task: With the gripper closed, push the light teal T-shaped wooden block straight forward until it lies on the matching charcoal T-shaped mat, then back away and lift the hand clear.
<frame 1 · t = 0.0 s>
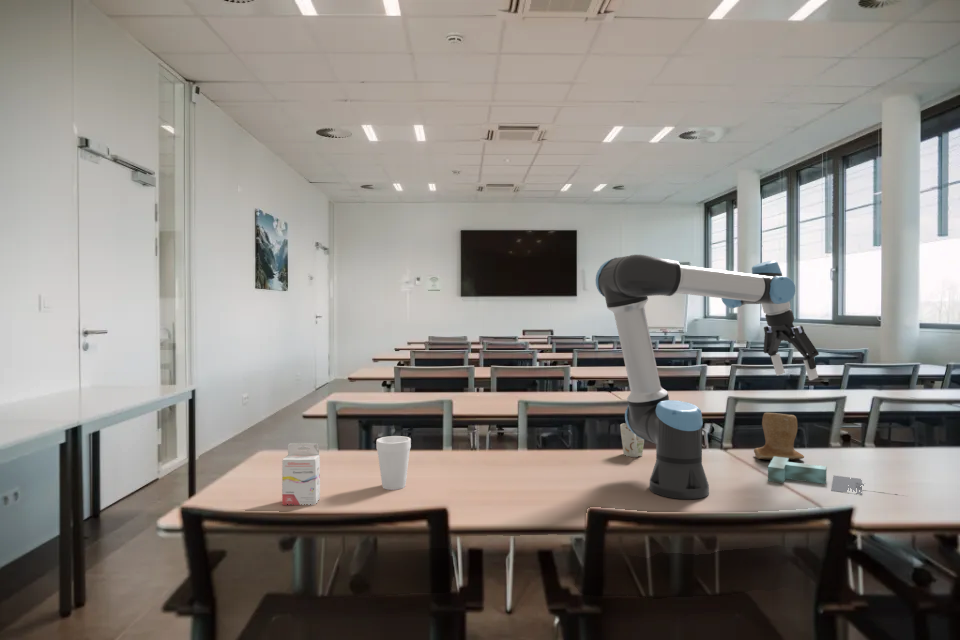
hand: (796, 376, 183), 28 cm above the table, tool tilted 20°, fingers open, 13 cm apart
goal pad: (868, 487, 162), on the table
ink cartridge box: (301, 503, 151), on the table
mug: (633, 457, 196), on the table
foam cup: (394, 487, 165), on the table
t block: (797, 478, 171), on the table
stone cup: (776, 458, 193), on the table
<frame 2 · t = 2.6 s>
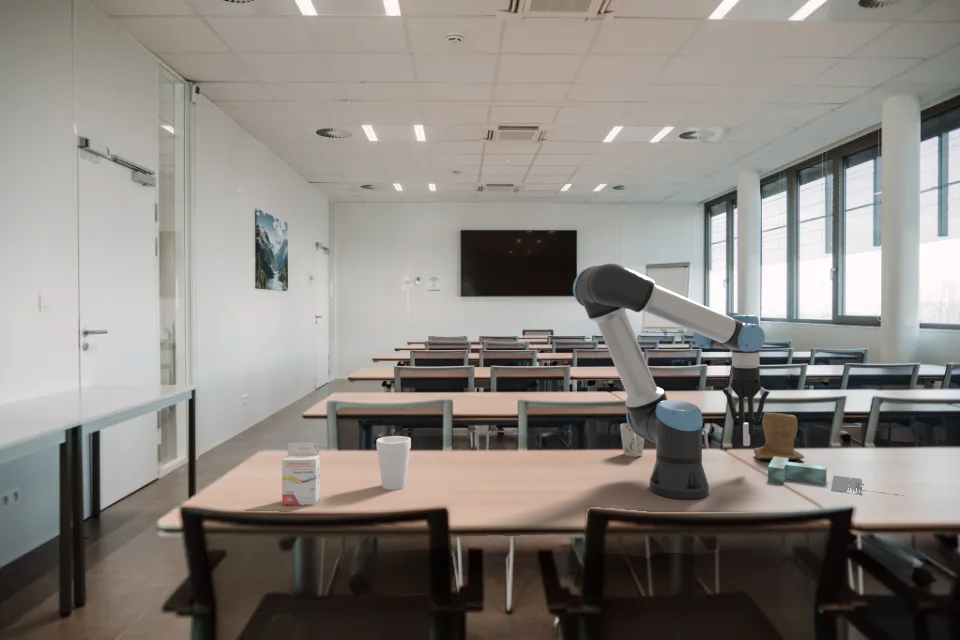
hand: (746, 444, 178), 8 cm above the table, tool pointing down, fingers closed
nothing on the table moved.
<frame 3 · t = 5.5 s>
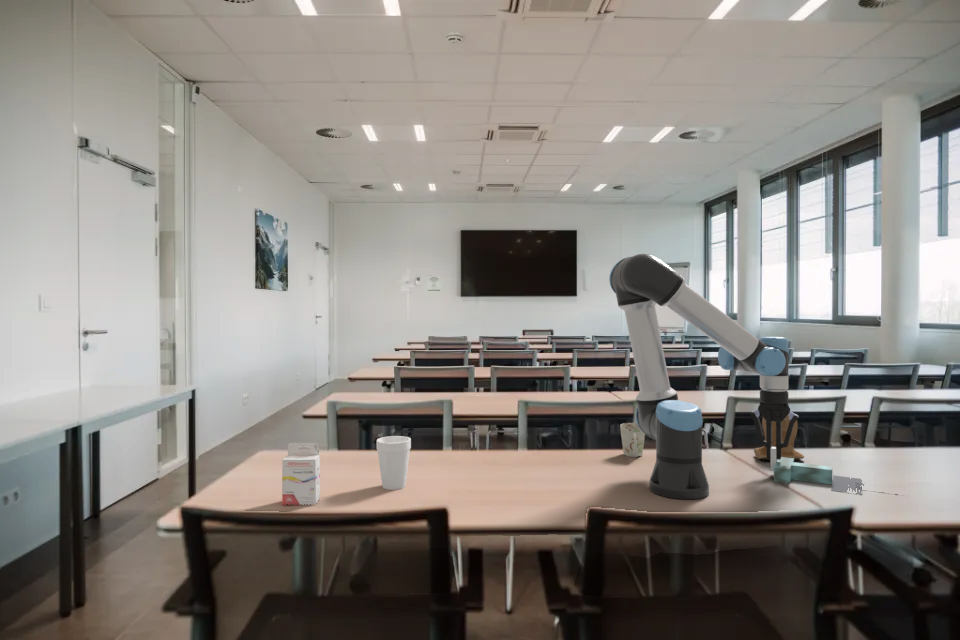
hand: (773, 469, 174), 2 cm above the table, tool pointing down, fingers closed
t block: (803, 478, 170), on the table, touching gripper
everything else where it was.
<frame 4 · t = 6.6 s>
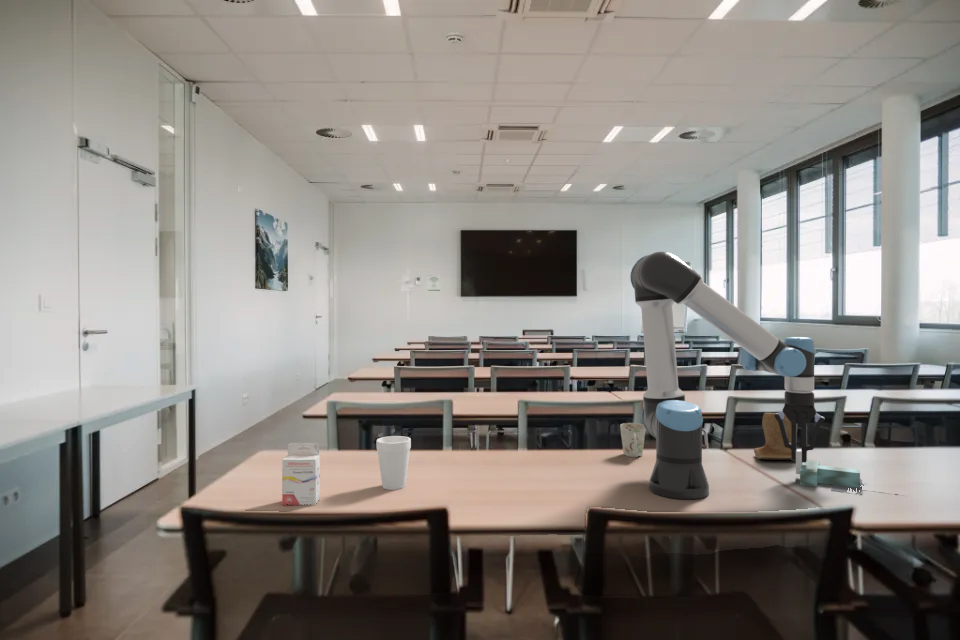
hand: (799, 472, 171), 2 cm above the table, tool pointing down, fingers closed
t block: (830, 482, 166), on the table, touching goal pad, gripper
everything else where it was.
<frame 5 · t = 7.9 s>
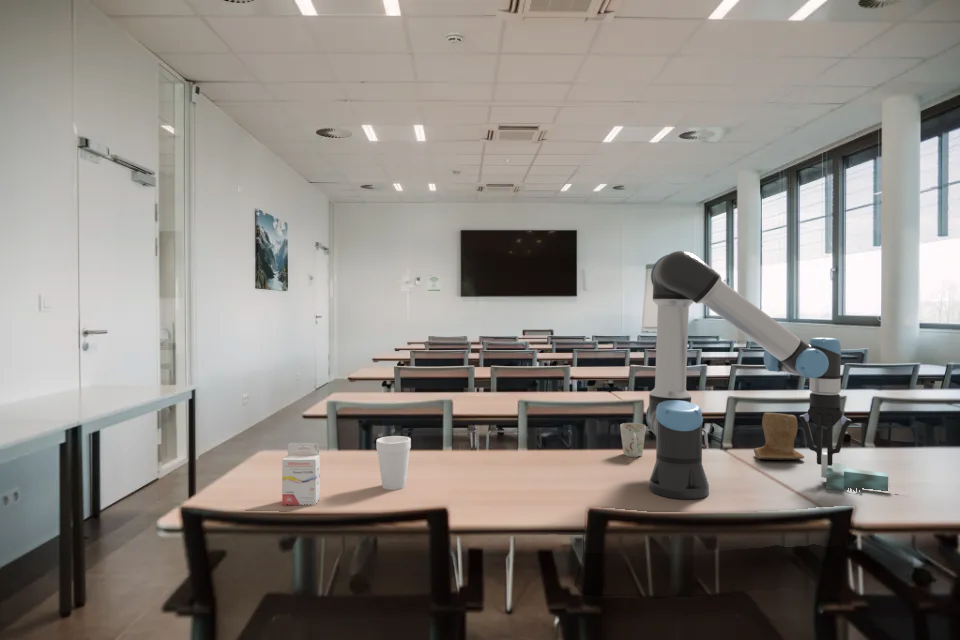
hand: (824, 476, 167), 2 cm above the table, tool pointing down, fingers closed
t block: (856, 485, 163), on the table, touching gripper
everything else where it was.
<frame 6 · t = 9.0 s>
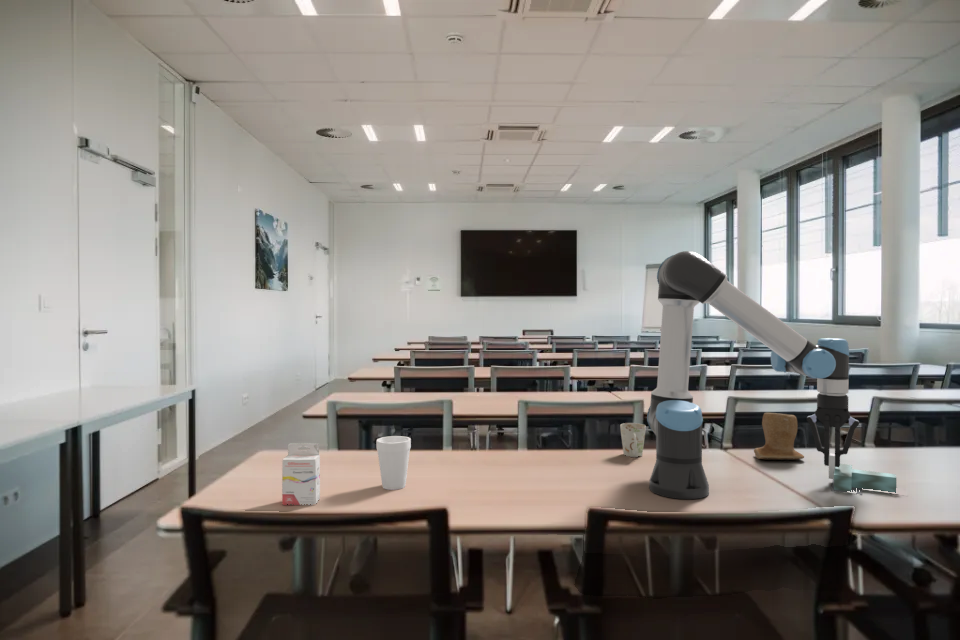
hand: (831, 477, 166), 1 cm above the table, tool pointing down, fingers closed
t block: (864, 486, 162), on the table, touching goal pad, gripper
everything else where it was.
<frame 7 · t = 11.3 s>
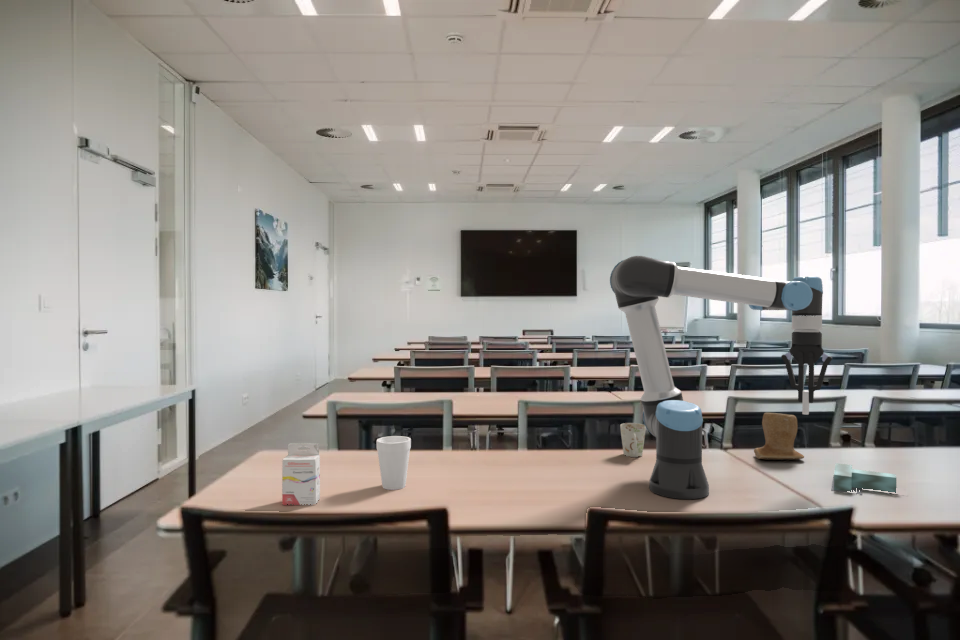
hand: (805, 413, 169), 19 cm above the table, tool pointing down, fingers closed
t block: (864, 486, 162), on the table, touching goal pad
everything else where it was.
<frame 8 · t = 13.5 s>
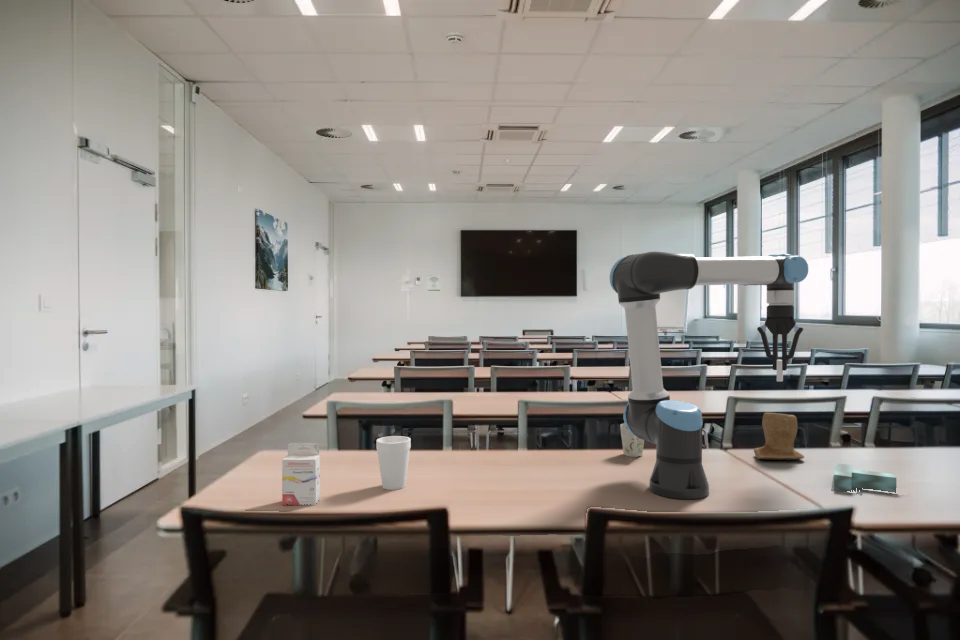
hand: (779, 380, 184), 26 cm above the table, tool pointing down, fingers closed
nothing on the table moved.
at the end: t block inside the target area on the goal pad (0.9 cm from its centre), point 0.0 cm above the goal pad's base; t block tilted 0°; t block moved 16.1 cm from its start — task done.
